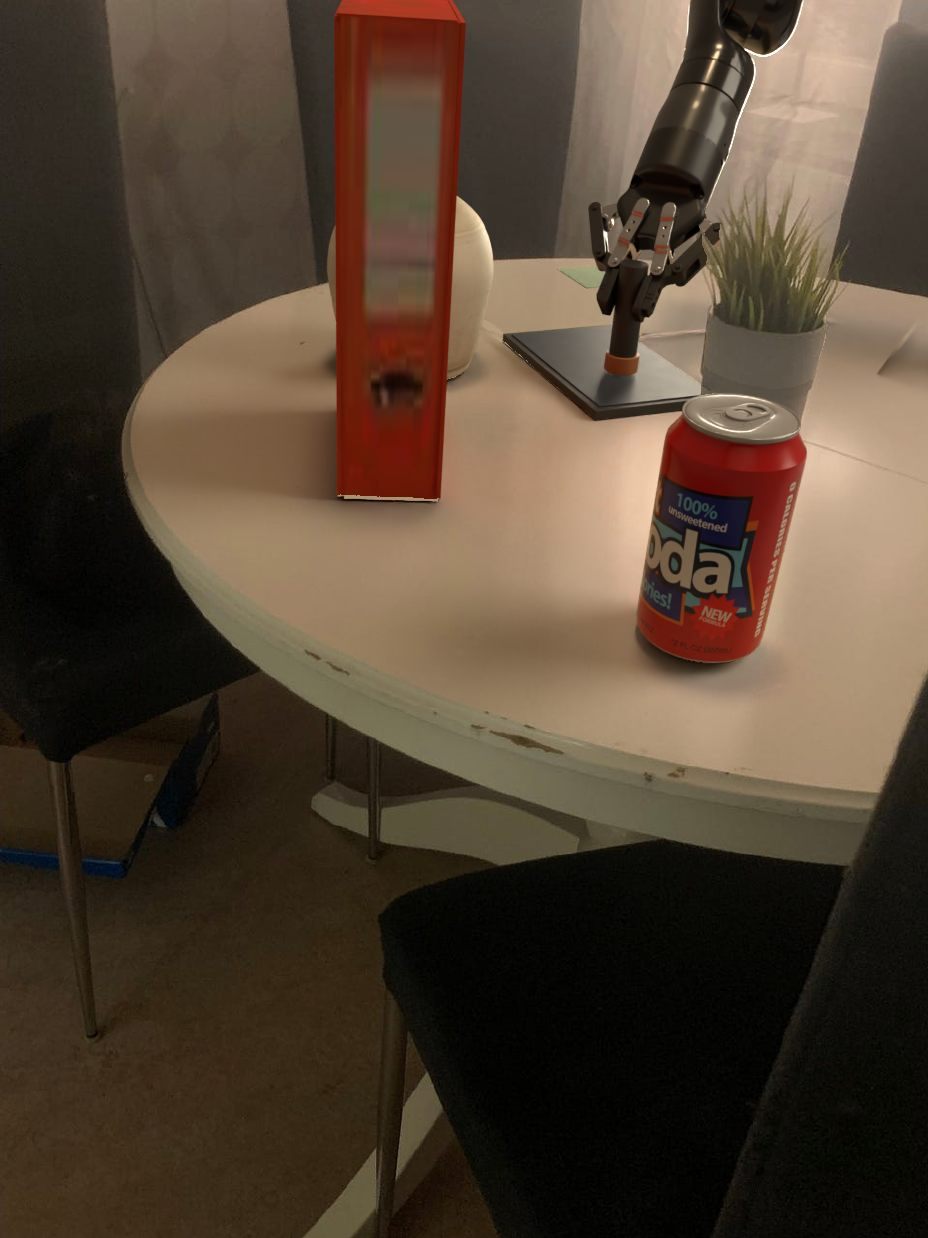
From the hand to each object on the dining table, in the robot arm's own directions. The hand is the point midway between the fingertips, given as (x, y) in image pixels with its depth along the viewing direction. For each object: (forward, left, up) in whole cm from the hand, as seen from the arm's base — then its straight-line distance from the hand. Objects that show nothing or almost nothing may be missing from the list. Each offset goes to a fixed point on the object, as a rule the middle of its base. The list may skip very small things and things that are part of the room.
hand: (620, 313), depth 98 cm
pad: (-15, -32, -7) cm, 36 cm away
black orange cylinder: (-2, -1, -6) cm, 6 cm away
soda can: (+15, +39, -7) cm, 42 cm away
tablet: (-1, -4, -7) cm, 8 cm away
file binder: (+25, +8, -7) cm, 27 cm away
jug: (+17, -11, -7) cm, 21 cm away
